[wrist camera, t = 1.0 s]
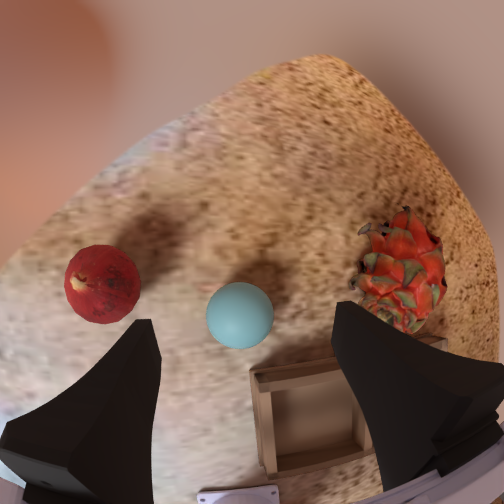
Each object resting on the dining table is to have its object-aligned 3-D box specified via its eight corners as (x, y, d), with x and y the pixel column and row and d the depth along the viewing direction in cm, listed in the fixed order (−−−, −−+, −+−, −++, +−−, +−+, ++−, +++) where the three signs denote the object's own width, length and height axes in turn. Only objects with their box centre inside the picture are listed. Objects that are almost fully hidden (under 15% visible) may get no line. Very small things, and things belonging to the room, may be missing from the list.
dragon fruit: (347, 340, 27) (368, 229, 30) (431, 353, 22) (443, 236, 26) (332, 326, 20) (357, 182, 23) (449, 343, 16) (454, 189, 19)
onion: (152, 254, 24) (125, 238, 16) (147, 323, 23) (118, 337, 15) (91, 249, 23) (45, 232, 15) (86, 314, 23) (38, 322, 15)
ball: (269, 339, 24) (283, 350, 19) (210, 345, 24) (209, 358, 19) (264, 280, 25) (276, 277, 20) (204, 285, 24) (201, 284, 19)
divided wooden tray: (425, 415, 25) (443, 424, 22) (259, 463, 23) (265, 482, 19) (428, 332, 26) (449, 335, 23) (249, 370, 24) (254, 381, 20)
